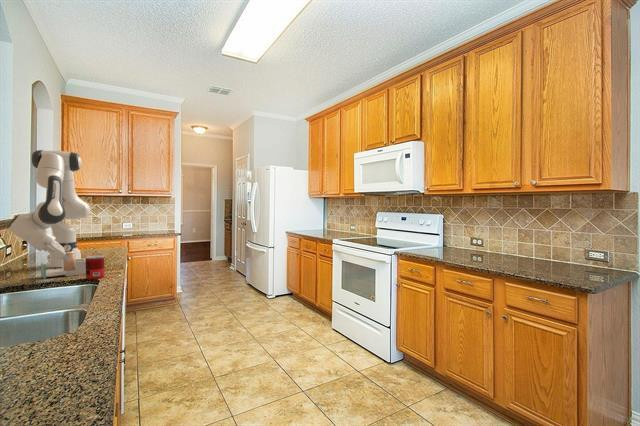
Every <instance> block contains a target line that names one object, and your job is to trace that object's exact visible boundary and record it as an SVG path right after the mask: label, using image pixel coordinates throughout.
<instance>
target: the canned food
mask: <svg viewBox="0 0 640 426" xmlns="http://www.w3.org/2000/svg"><path fill="white" fill-rule="evenodd" d="M85 259H86V274H85V279H86V280H99V279H103V278H104V277H105V255H104V254H102V255H101V254H100V255H99V254H97V255H94V254H93V255H89V256H86V257H85Z"/></svg>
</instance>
